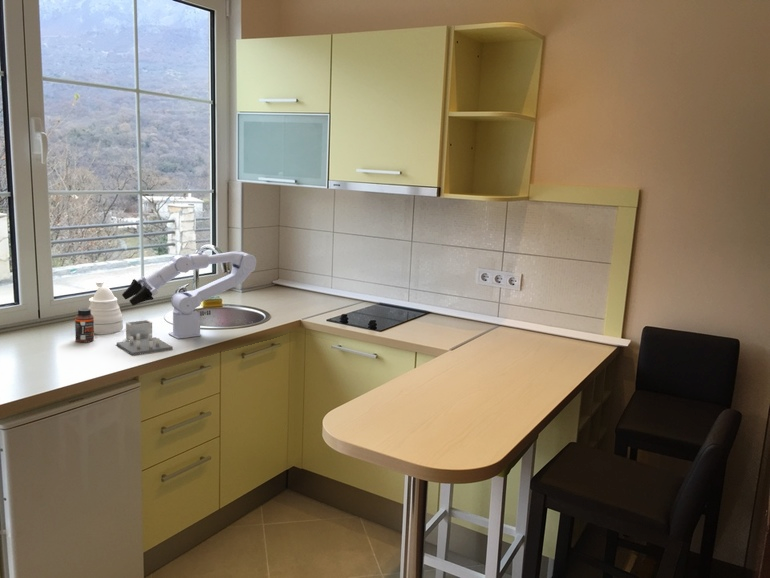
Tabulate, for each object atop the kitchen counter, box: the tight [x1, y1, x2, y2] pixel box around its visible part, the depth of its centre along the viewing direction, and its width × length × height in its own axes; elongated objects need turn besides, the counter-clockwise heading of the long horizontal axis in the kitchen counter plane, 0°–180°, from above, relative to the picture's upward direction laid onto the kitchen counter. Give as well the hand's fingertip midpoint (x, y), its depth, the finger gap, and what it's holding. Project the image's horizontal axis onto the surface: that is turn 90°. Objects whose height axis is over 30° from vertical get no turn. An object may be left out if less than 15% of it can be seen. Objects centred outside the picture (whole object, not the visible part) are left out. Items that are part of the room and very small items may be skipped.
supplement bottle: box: [74, 307, 95, 343], centre depth 227 cm, size 6×6×11 cm
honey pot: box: [87, 280, 124, 334], centre depth 242 cm, size 13×13×18 cm
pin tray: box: [116, 333, 173, 356], centre depth 224 cm, size 14×14×4 cm
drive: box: [125, 319, 153, 341], centre depth 235 cm, size 8×4×6 cm, turn 133°
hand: (127, 300), depth 228 cm, fingers open, 7 cm apart
